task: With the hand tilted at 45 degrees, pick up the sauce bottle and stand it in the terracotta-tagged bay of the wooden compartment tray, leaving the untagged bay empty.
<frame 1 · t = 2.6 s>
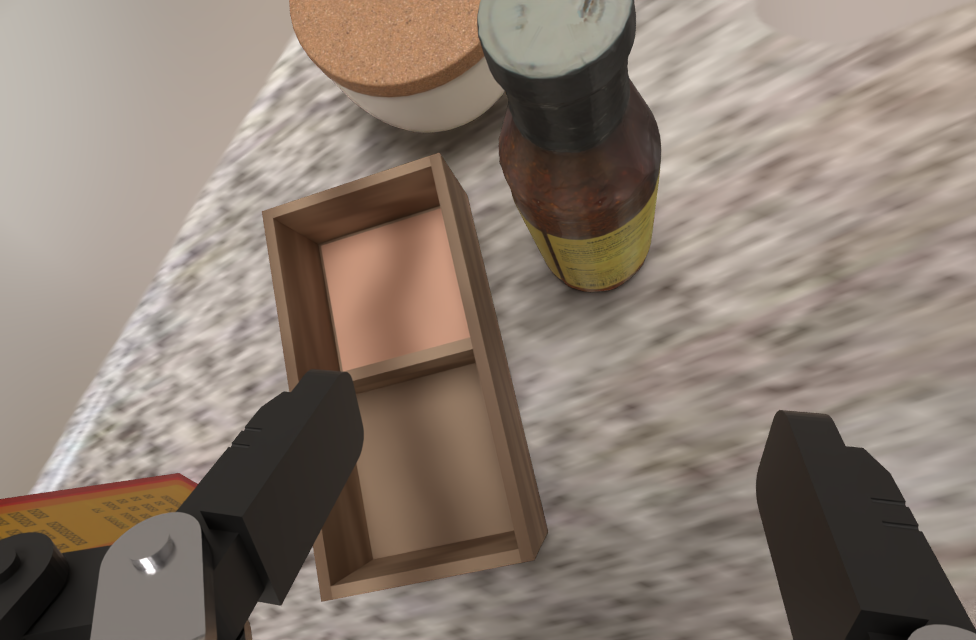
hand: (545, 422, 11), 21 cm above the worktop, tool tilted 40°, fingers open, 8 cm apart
sauce bottle: (592, 245, 33), on the worktop
white lidded bowl: (449, 78, 37), on the worktop
wooden compartment tray: (421, 374, 34), on the worktop
baking soda box: (187, 563, 35), on the worktop
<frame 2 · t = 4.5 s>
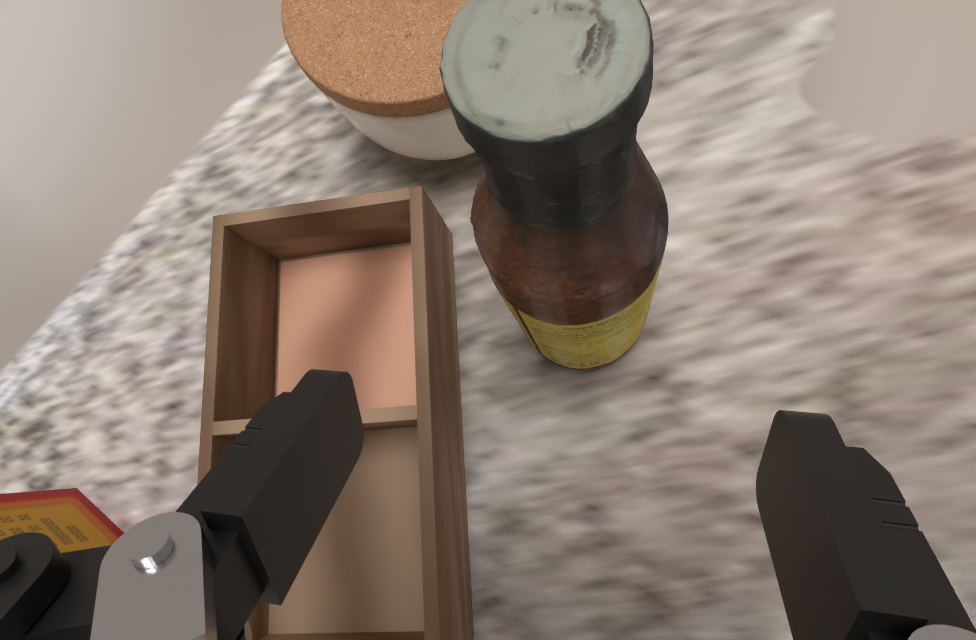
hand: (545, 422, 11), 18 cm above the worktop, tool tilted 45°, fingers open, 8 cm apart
sauce bottle: (579, 314, 29), on the worktop
white lidded bowl: (456, 103, 33), on the worktop
wooden compartment tray: (365, 425, 29), on the worktop
baking soda box: (63, 595, 31), on the worktop
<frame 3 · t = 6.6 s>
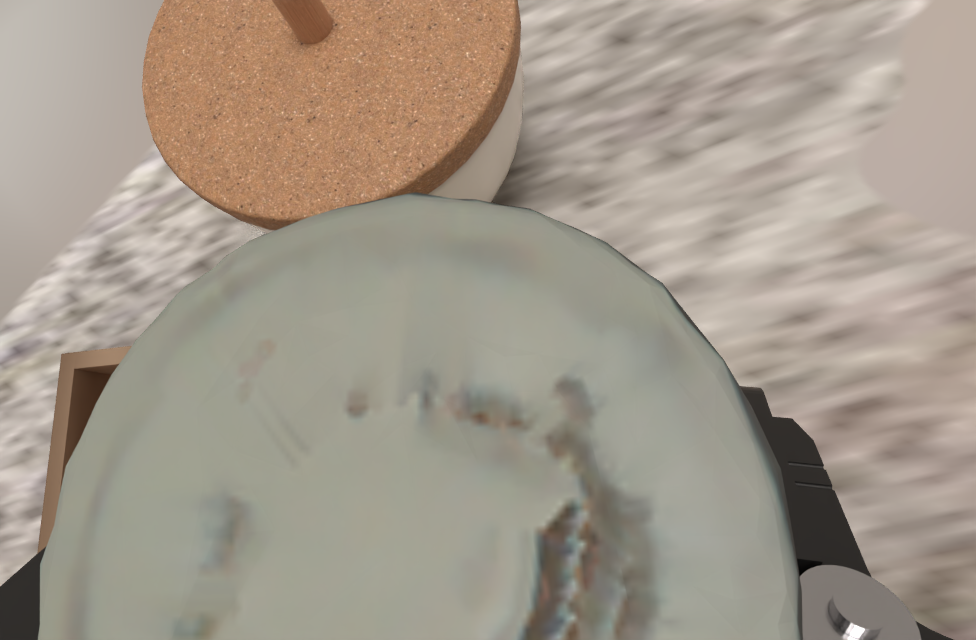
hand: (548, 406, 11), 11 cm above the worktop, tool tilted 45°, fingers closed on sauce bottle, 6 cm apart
sauce bottle: (566, 470, 22), on the worktop, touching gripper
white lidded bowl: (409, 174, 26), on the worktop
wooden compartment tray: (281, 617, 22), on the worktop
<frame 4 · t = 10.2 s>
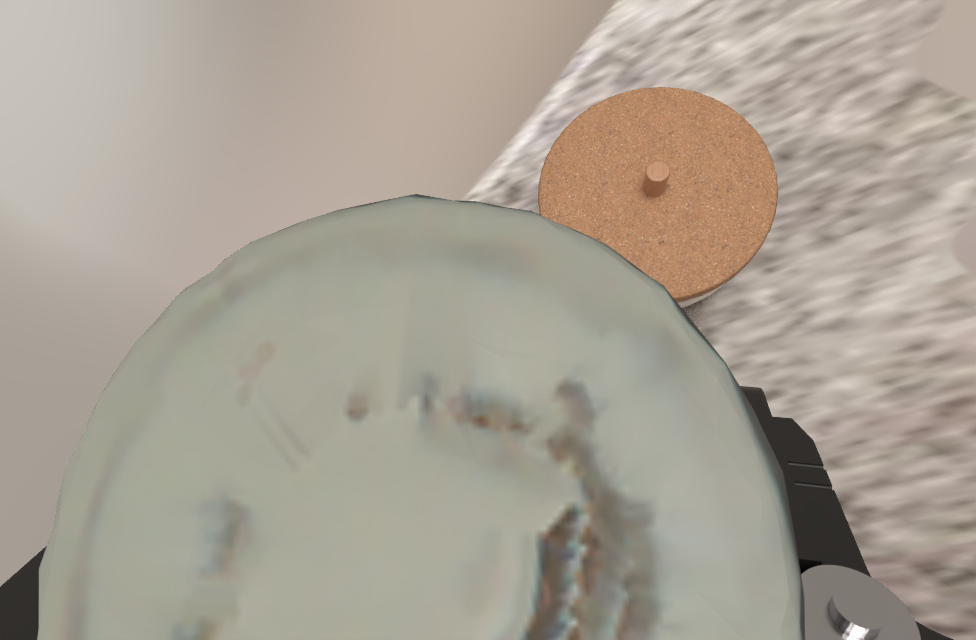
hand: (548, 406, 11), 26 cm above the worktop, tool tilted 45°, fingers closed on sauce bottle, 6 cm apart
sauce bottle: (566, 471, 22), point 15 cm above the worktop, touching gripper
white lidded bowl: (638, 247, 39), on the worktop
when the fingers open (14 cm above the worktop, at t = 13.8 s): sauce bottle drops 1 cm, resting on wooden compartment tray.
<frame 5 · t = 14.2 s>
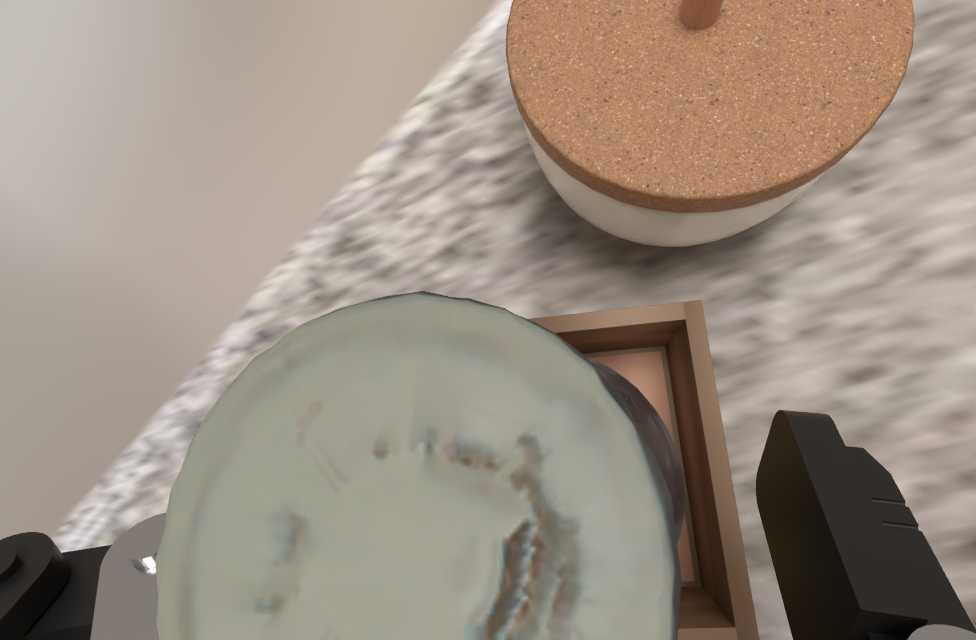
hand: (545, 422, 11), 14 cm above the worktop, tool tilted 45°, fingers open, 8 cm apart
sauce bottle: (562, 474, 23), point 1 cm above the worktop, touching wooden compartment tray
white lidded bowl: (660, 162, 27), on the worktop
wooden compartment tray: (578, 592, 23), on the worktop
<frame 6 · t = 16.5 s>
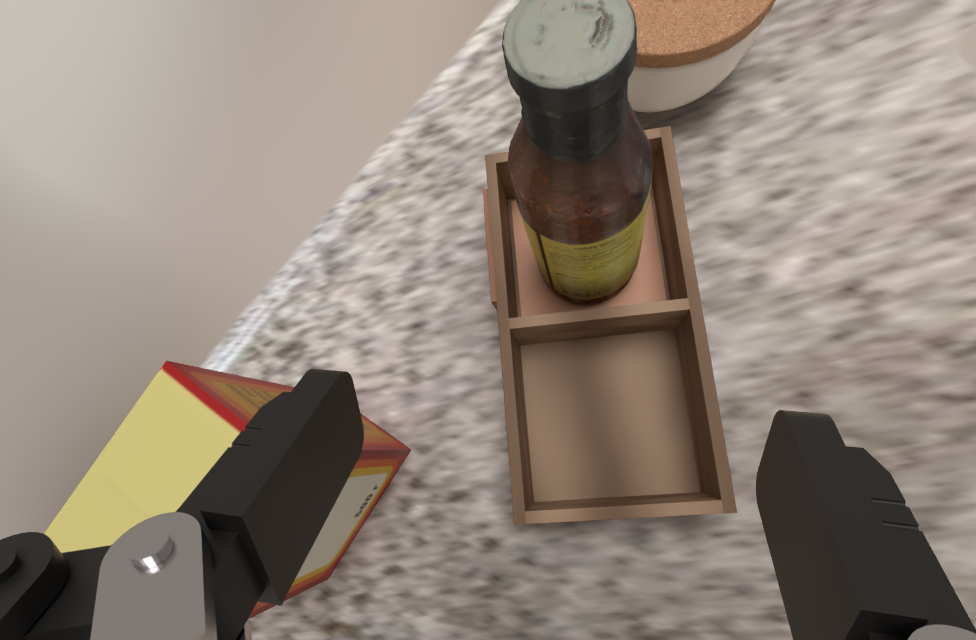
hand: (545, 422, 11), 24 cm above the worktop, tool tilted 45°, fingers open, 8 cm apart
sauce bottle: (584, 260, 35), point 1 cm above the worktop, touching wooden compartment tray
white lidded bowl: (648, 67, 39), on the worktop
wooden compartment tray: (595, 335, 35), on the worktop
baking soda box: (333, 483, 36), on the worktop
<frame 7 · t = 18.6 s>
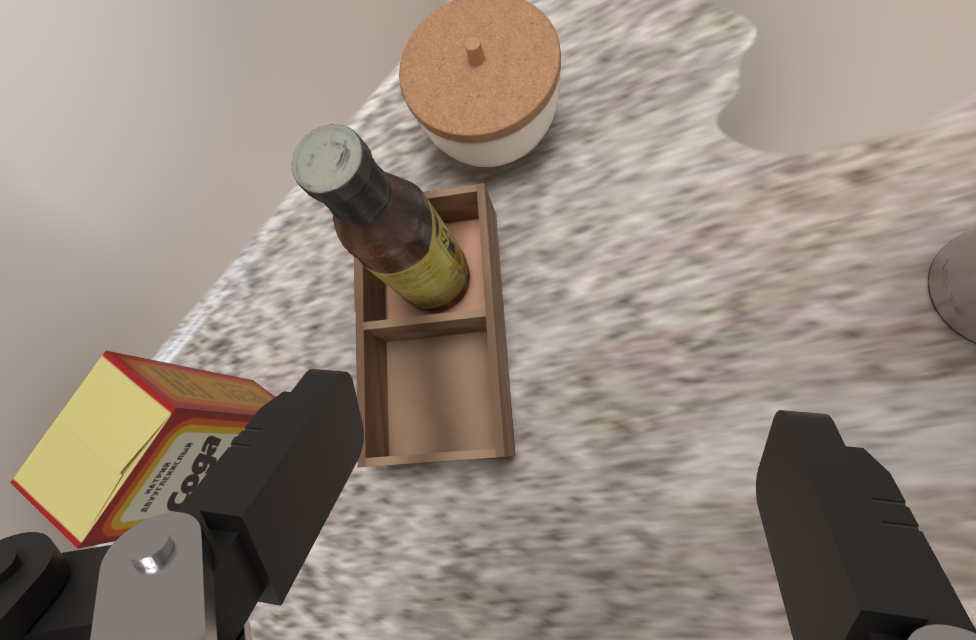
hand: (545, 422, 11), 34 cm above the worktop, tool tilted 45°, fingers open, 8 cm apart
sauce bottle: (436, 278, 47), point 1 cm above the worktop, touching wooden compartment tray
white lidded bowl: (496, 129, 51), on the worktop
wooden compartment tray: (443, 335, 47), on the worktop
baking soda box: (249, 446, 48), on the worktop
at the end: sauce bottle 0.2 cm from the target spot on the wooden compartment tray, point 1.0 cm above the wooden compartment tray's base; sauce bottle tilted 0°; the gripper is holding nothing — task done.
